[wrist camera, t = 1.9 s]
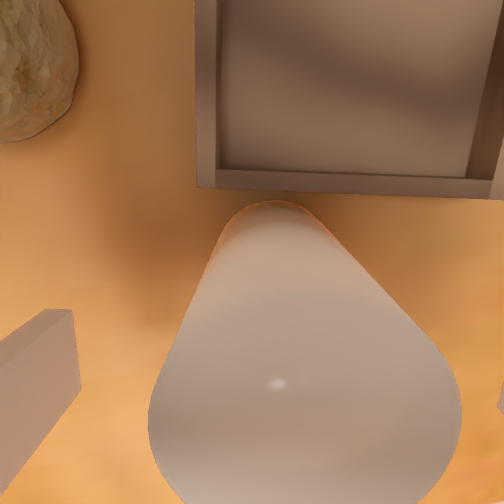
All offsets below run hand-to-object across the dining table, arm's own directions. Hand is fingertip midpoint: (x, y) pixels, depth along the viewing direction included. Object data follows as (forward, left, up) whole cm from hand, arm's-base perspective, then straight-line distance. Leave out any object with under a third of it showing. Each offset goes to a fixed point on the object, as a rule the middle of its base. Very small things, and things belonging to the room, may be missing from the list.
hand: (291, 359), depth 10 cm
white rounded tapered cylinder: (0, 0, -9) cm, 9 cm away
